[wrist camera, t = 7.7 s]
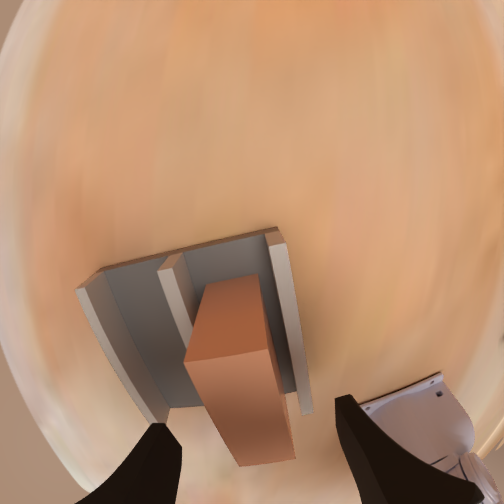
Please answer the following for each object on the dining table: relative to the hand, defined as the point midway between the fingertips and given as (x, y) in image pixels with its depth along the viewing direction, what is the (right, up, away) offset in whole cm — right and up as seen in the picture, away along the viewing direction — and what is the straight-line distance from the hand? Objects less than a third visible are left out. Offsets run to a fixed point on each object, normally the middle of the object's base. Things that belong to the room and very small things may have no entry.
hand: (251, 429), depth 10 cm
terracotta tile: (0, +2, +7) cm, 7 cm away
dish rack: (-3, +2, +8) cm, 9 cm away
